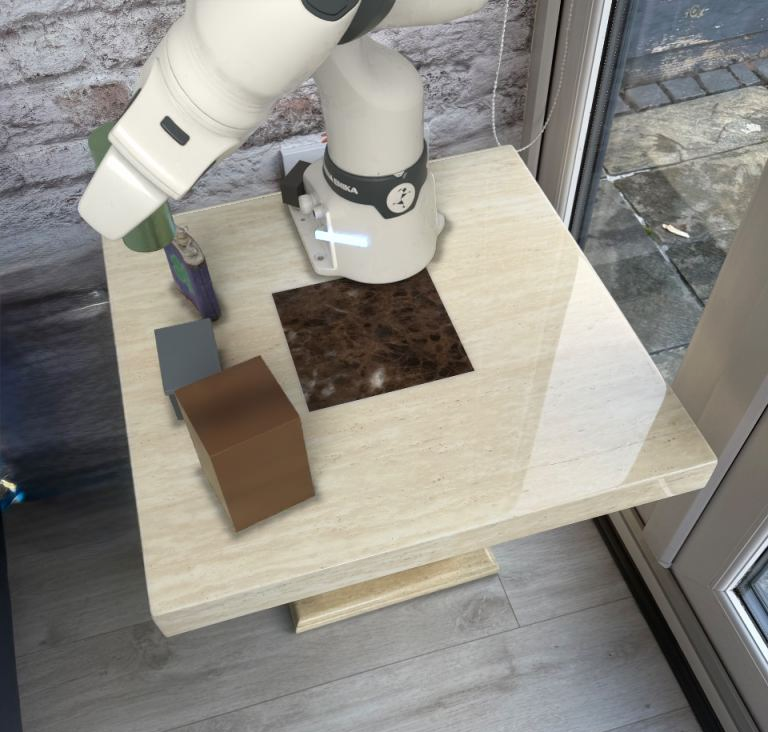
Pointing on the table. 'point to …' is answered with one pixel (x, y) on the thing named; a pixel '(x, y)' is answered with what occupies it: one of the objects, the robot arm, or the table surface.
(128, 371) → the table surface
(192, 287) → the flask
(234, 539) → the table surface
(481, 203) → the table surface
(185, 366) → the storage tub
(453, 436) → the table surface
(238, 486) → the block
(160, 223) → the tin
